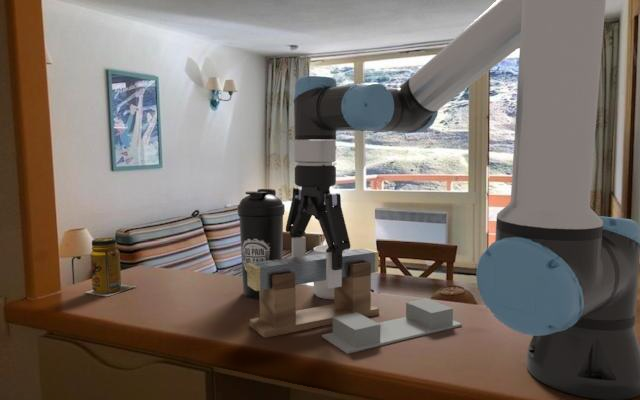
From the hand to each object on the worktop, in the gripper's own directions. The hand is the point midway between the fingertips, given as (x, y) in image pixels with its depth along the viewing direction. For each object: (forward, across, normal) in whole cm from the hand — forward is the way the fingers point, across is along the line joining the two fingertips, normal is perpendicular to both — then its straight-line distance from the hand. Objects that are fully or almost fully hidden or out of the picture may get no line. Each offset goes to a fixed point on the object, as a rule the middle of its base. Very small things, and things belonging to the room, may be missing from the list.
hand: (315, 278), depth 95 cm
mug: (+8, +11, -12) cm, 18 cm away
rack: (+8, 0, 0) cm, 8 cm away
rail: (0, 0, 0) cm, 0 cm away
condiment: (+9, +41, +31) cm, 52 cm away
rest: (+8, -12, -9) cm, 17 cm away
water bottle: (+8, +21, +2) cm, 22 cm away
